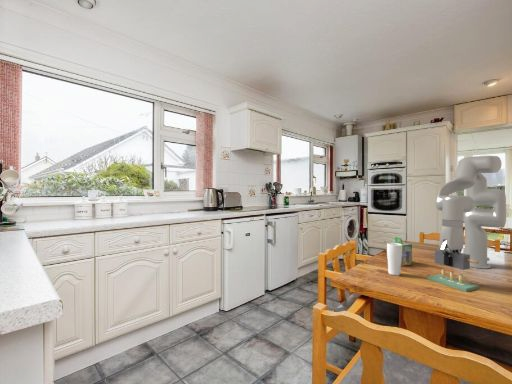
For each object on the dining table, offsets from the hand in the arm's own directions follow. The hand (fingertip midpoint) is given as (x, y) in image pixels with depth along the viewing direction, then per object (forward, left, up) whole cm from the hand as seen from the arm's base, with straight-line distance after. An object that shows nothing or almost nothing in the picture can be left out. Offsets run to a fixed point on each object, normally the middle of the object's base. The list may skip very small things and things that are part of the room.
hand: (451, 264), depth 116 cm
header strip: (0, 0, -9) cm, 9 cm away
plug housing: (0, +2, -1) cm, 2 cm away
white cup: (+12, -19, -9) cm, 24 cm away
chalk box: (-7, -31, -9) cm, 33 cm away
